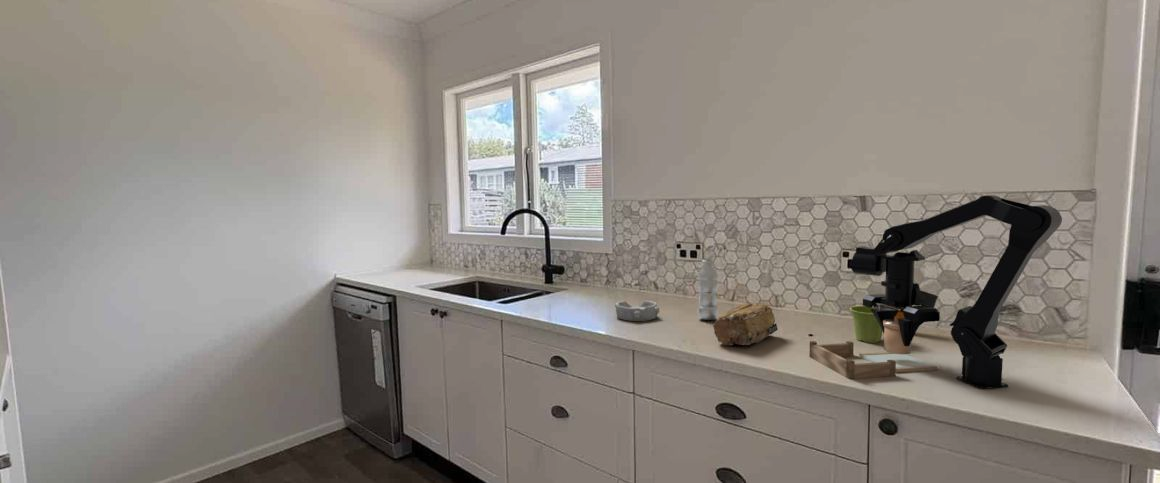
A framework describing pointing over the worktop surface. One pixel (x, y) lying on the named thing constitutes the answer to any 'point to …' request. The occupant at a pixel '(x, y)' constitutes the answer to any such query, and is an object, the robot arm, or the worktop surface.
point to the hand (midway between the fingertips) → (897, 342)
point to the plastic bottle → (707, 291)
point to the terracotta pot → (894, 338)
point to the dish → (637, 311)
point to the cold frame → (849, 361)
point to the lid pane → (899, 361)
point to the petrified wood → (745, 324)
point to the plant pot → (866, 324)
